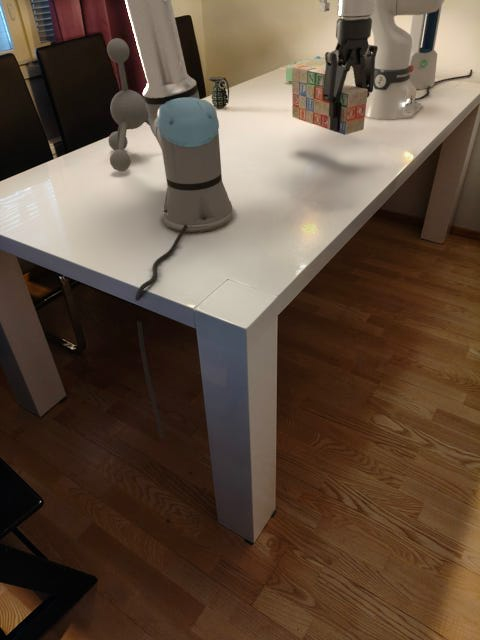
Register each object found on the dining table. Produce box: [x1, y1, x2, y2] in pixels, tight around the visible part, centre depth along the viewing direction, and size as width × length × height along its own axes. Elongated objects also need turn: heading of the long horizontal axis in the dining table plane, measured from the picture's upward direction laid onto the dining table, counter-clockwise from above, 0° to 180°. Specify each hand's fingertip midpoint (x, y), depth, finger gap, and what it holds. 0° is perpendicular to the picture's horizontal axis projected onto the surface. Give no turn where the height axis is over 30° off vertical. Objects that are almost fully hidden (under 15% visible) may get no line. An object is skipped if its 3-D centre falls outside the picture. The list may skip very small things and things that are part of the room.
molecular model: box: [106, 37, 150, 172], centre depth 131 cm, size 24×22×30 cm
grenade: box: [208, 76, 230, 110], centre depth 174 cm, size 7×6×10 cm
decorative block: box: [285, 55, 326, 82], centre depth 205 cm, size 26×6×20 cm
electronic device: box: [409, 4, 443, 90], centre depth 178 cm, size 12×8×30 cm, turn 105°
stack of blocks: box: [291, 64, 368, 136], centre depth 121 cm, size 21×6×12 cm, turn 31°
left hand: (345, 127), depth 119 cm, fingers closed on stack of blocks, 6 cm apart
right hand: (339, 9), depth 123 cm, fingers open, 8 cm apart
